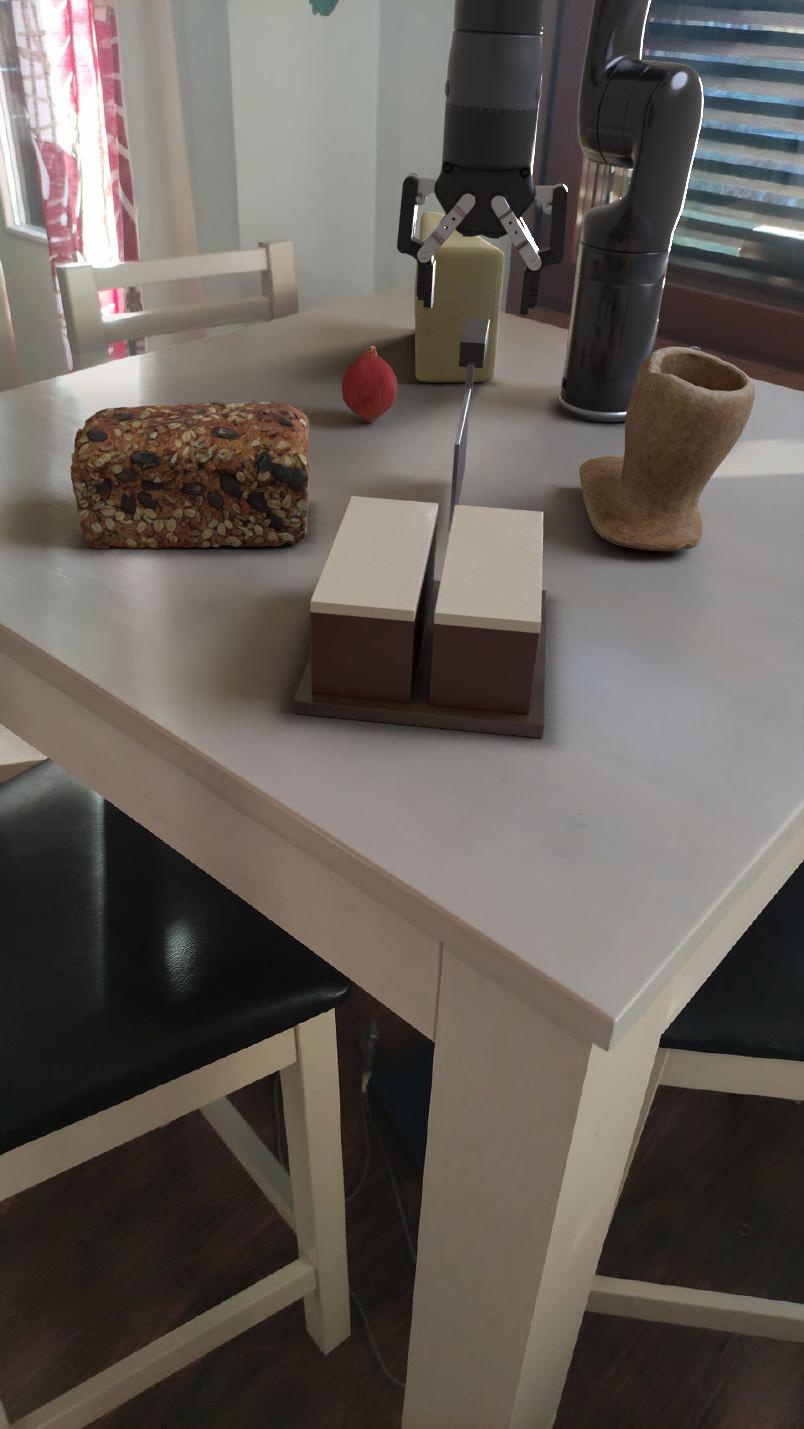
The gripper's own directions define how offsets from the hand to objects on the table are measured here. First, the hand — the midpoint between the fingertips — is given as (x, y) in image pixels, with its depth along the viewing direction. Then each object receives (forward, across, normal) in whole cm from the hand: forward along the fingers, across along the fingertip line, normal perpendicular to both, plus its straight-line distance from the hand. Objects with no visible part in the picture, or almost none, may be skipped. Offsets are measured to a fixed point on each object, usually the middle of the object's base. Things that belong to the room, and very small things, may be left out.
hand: (475, 309), depth 94 cm
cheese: (+15, +6, -36) cm, 40 cm away
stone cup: (+15, -17, +9) cm, 25 cm away
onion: (+15, +11, -11) cm, 21 cm away
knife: (+14, 0, +6) cm, 15 cm away
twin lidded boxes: (+15, 0, +34) cm, 37 cm away
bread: (+15, +21, +17) cm, 31 cm away
